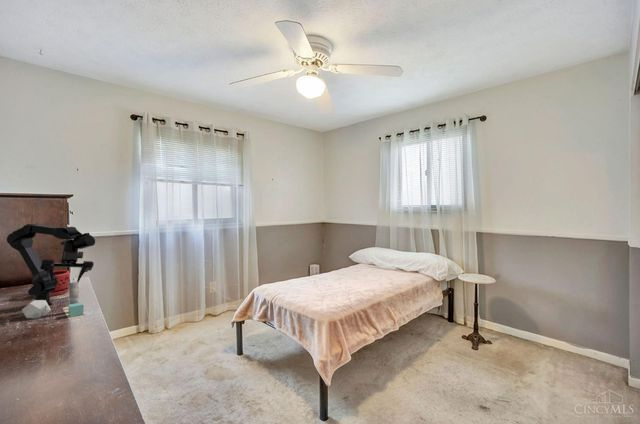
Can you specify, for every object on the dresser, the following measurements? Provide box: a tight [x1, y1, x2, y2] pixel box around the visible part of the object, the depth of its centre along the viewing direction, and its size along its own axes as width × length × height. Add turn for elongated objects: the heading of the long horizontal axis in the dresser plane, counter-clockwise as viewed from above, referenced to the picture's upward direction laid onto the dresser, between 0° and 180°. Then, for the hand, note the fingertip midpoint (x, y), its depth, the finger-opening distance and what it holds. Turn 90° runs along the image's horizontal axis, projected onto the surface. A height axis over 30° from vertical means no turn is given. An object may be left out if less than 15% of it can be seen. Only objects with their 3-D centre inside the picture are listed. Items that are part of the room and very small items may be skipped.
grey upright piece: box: [62, 281, 87, 320], centre depth 132 cm, size 20×6×14 cm, turn 47°
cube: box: [68, 302, 85, 317], centre depth 128 cm, size 4×4×4 cm
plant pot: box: [50, 269, 71, 297], centre depth 163 cm, size 13×13×12 cm
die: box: [21, 299, 52, 319], centre depth 127 cm, size 8×9×10 cm
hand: (64, 282), depth 134 cm, fingers open, 9 cm apart
